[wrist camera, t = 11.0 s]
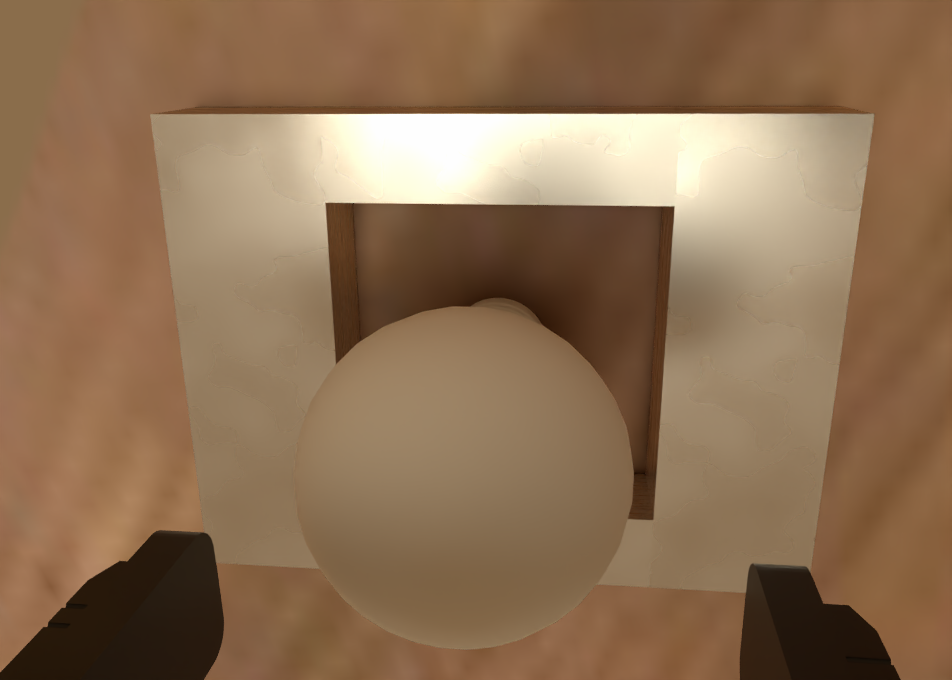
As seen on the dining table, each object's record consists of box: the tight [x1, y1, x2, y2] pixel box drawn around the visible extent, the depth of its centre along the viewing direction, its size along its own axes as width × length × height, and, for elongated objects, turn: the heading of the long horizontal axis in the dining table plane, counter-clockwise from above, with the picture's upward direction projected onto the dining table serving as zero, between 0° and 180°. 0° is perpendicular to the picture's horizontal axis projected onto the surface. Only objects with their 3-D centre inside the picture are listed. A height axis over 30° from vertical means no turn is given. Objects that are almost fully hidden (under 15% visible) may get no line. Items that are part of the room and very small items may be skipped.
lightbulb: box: [294, 298, 634, 650], centre depth 18 cm, size 6×6×11 cm
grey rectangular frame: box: [150, 106, 874, 593], centre depth 22 cm, size 16×12×2 cm
